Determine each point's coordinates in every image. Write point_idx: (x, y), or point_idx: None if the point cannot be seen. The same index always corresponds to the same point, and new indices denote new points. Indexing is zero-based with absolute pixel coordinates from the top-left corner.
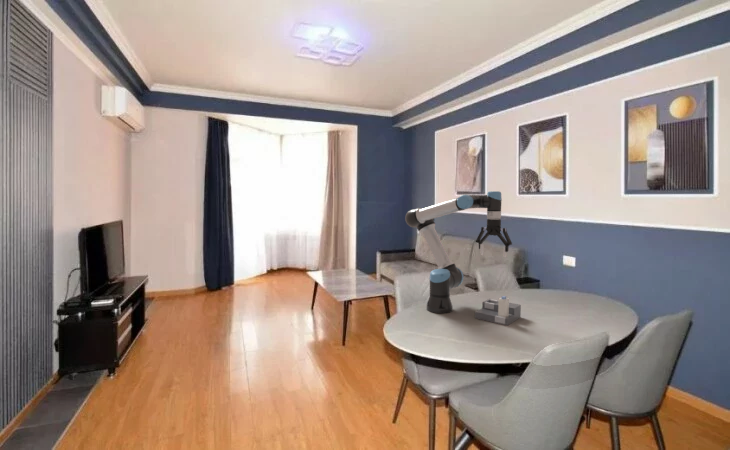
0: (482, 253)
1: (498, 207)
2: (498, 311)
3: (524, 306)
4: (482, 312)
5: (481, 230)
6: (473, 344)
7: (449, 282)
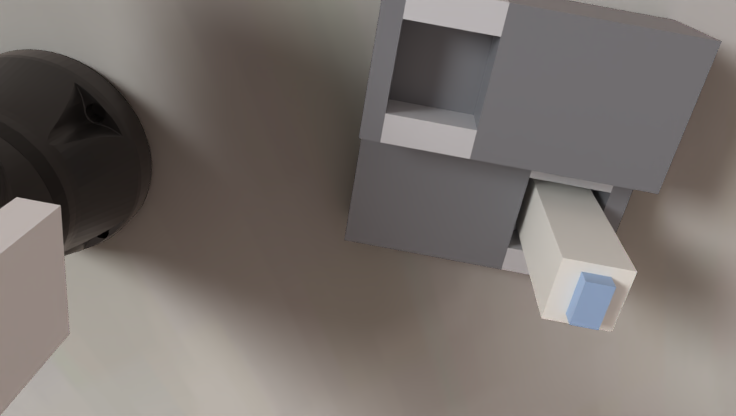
0: (34, 298)
1: None
2: (526, 256)
3: None
4: (398, 230)
5: None
6: None
7: None
